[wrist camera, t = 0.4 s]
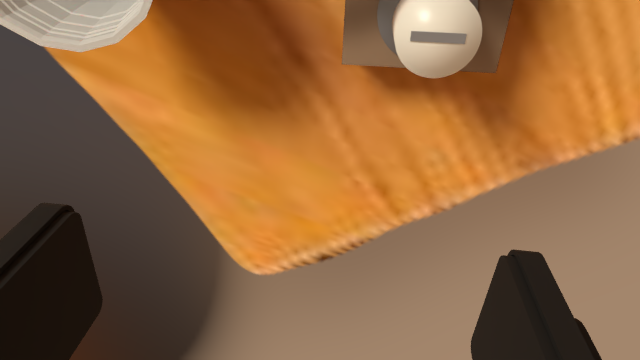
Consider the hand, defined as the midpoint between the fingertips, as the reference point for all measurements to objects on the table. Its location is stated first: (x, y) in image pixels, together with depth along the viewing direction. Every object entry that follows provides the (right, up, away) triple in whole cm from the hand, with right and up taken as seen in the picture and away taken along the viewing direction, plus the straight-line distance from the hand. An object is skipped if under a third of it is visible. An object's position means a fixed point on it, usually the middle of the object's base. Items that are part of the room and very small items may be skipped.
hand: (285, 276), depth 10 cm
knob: (+7, +11, +16) cm, 21 cm away
